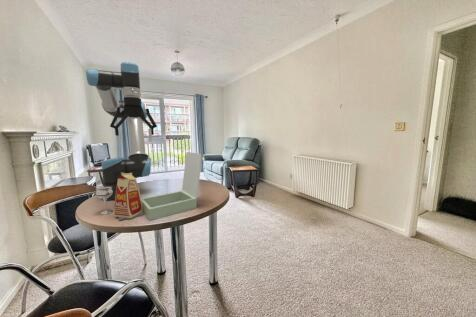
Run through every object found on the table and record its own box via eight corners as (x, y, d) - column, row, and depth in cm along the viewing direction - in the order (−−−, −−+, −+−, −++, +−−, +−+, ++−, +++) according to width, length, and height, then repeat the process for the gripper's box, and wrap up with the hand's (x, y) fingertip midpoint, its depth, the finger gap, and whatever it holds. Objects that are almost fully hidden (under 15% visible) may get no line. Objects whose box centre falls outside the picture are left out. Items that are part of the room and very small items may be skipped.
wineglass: (118, 209, 99) (115, 186, 97) (106, 215, 92) (104, 190, 90) (106, 209, 100) (103, 186, 98) (94, 214, 93) (91, 189, 92)
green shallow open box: (140, 208, 100) (139, 199, 99) (182, 199, 113) (182, 190, 112) (150, 220, 86) (149, 209, 85) (196, 208, 99) (196, 198, 98)
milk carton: (131, 218, 87) (126, 173, 84) (113, 216, 89) (108, 173, 86) (144, 210, 96) (141, 169, 93) (128, 209, 97) (124, 169, 95)
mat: (116, 214, 93) (116, 212, 93) (139, 208, 99) (139, 207, 99) (119, 221, 85) (119, 219, 85) (144, 215, 91) (144, 213, 91)
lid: (186, 151, 112) (188, 152, 113) (182, 190, 112) (184, 190, 113) (201, 154, 98) (203, 154, 99) (196, 198, 98) (198, 197, 99)
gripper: (101, 94, 84) (106, 143, 87) (161, 98, 99) (164, 141, 102) (100, 96, 90) (105, 142, 93) (157, 100, 105) (160, 140, 108)
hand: (136, 142), depth 98 cm, fingers open, 13 cm apart
